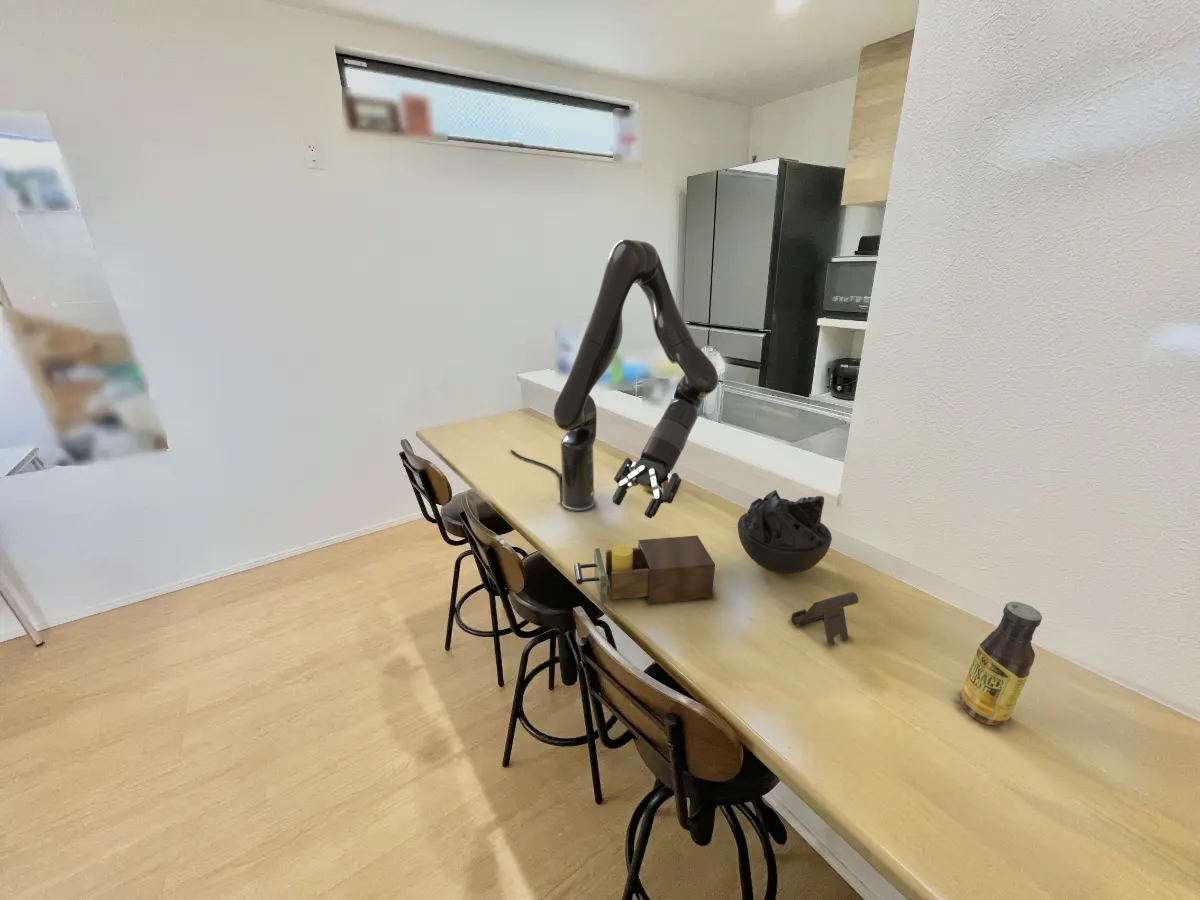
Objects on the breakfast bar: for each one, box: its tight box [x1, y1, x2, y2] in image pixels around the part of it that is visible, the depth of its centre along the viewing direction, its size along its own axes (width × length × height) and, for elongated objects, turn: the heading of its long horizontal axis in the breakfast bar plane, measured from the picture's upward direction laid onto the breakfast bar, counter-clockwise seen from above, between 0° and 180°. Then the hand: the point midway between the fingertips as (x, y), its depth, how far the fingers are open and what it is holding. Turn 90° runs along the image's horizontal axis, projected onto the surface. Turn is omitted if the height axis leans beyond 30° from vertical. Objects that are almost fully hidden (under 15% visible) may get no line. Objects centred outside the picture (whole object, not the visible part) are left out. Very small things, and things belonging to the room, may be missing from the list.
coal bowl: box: [737, 489, 833, 575], centre depth 111 cm, size 20×20×19 cm
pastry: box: [645, 480, 669, 493], centre depth 154 cm, size 9×7×4 cm
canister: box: [611, 544, 633, 572], centre depth 105 cm, size 4×4×8 cm
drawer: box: [573, 547, 649, 605], centre depth 105 cm, size 17×10×7 cm, turn 98°
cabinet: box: [637, 535, 716, 606], centre depth 107 cm, size 14×12×9 cm
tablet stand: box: [790, 591, 859, 646], centre depth 93 cm, size 9×8×8 cm
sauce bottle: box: [960, 601, 1043, 727], centre depth 73 cm, size 7×6×20 cm
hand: (631, 510), depth 103 cm, fingers open, 8 cm apart
